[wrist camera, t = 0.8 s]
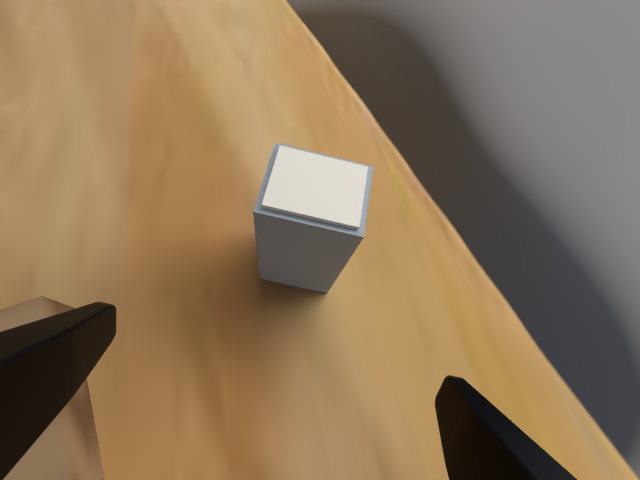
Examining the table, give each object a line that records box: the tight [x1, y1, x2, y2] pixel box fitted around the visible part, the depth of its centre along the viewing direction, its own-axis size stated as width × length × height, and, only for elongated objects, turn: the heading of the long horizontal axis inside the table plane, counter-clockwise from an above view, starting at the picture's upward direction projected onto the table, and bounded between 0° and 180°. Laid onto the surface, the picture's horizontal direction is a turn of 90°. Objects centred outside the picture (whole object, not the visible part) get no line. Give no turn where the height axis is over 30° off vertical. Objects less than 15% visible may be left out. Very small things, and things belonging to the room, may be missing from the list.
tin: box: [253, 143, 373, 293], centre depth 19 cm, size 4×5×10 cm
